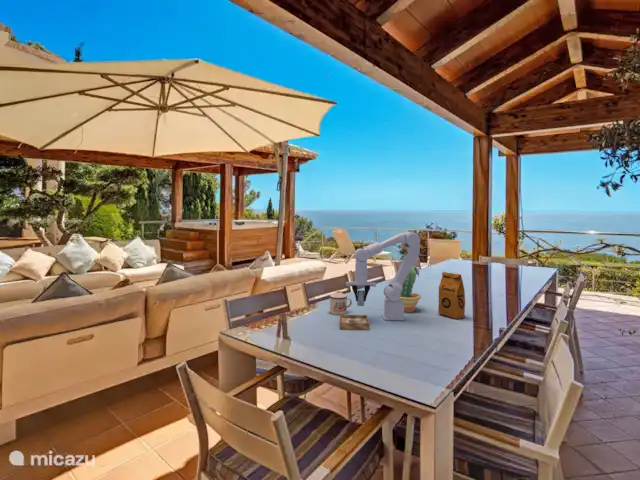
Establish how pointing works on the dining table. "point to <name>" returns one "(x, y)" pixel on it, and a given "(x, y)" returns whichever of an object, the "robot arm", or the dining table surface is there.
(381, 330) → the dining table surface
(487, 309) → the dining table surface
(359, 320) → the tray box
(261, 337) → the dining table surface
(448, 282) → the coffee package
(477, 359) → the dining table surface
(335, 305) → the beige mug
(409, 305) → the potted cactus
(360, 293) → the peg
